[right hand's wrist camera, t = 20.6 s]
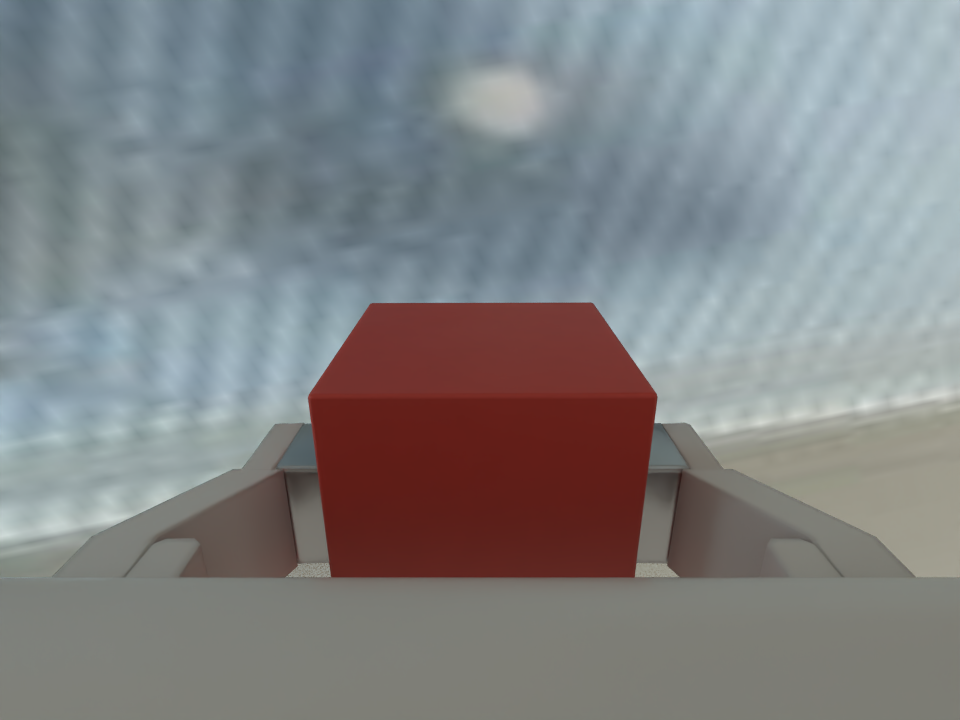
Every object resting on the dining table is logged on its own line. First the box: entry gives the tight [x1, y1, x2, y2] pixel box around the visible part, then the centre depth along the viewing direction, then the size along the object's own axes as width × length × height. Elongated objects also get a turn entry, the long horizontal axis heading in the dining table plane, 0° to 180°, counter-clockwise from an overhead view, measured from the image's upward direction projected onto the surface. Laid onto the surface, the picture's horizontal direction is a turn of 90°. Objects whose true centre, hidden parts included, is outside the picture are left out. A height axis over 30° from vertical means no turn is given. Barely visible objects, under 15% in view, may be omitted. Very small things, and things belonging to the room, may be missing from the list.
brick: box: [308, 303, 657, 577], centre depth 10 cm, size 5×4×4 cm
